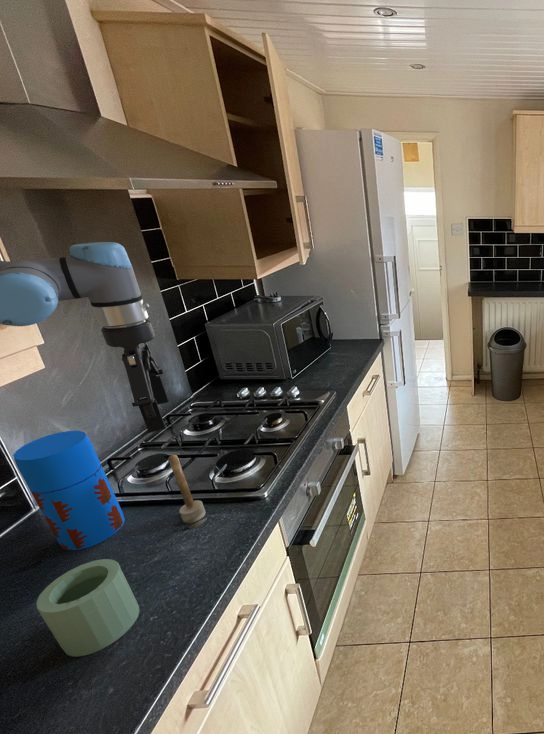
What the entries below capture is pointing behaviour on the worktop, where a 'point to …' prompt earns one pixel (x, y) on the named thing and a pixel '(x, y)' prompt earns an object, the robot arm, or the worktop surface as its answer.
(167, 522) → the worktop surface
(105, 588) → the green faceted pot
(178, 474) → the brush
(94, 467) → the thermos
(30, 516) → the worktop surface
